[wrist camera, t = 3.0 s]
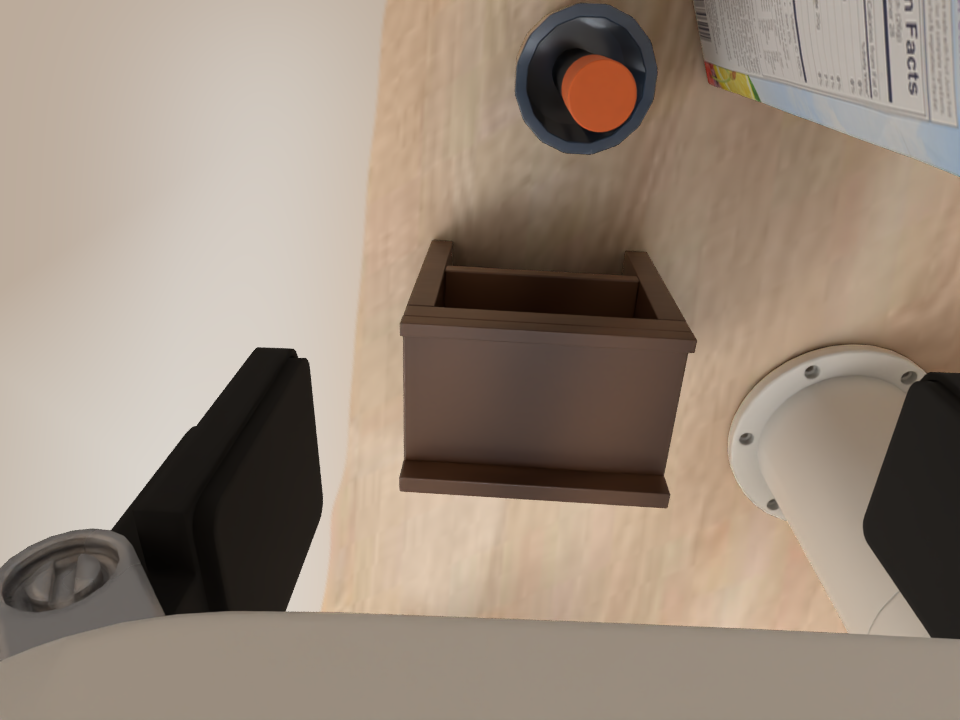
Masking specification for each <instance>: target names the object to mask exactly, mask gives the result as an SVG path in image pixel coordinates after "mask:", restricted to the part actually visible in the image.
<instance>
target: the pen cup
mask: <svg viewBox="0 0 960 720" xmlns="http://www.w3.org/2000/svg"><path fill="white" fill-rule="evenodd" d="M573 48H579V49H583V50H586V51H588V52H591V53H593V54H596V55H601V56H605V57H607V58H610V59H612V60H615V61H617V62H620V63H621V64H623V65H624V66H625V67H626V68H627V69H628V70H629V71H630V72H631V74H632V75H633V77H634V80H635V83H636V87H637V99H636V103H635V106H634V109H633V111H632V113H631V114H630V116H629V117H628V119H627V120H626V121H625V122H624V123H623V124H621V125H620V126H619V127H617V128H615V129H613V130H610V131H606V132H593V131H589V130H587V129H585V128H583V127H582V126H580V125H579V124H578V123H577V122H576V121H575V120H574V118H573V117H572V115H571V113H570V112H569V110H568V108H567V107H566V105H565V103H564V100H563V98H562V96H561V94H560V93H559V91H558V90H557V88H556V86H555V85H554V82H553V78H552V70H553V66H554V63H555V61H556V59H557V58H558V57H559V56H560V55H561V54H562V53H563V52H565V51H566V50H569V49H573ZM657 73H658V71H657V64H656V60H655V56H654V52H653V47H652V43H651V42H650V39H649V38H648V36H647V35H646V34H645V32H644V31H643V30H642V28H641V27H640V26H639V24H638V23H637V22H636V20H635V19H634V18H633V17H631V16H630V15H628V14H626V13H624V12H622V11H620V10H618V9H617V8H615V7H613V6H611V5H608V4H598V3H577V4H573V5H570V6H567V7H565V8H562V9H560V10H557V11H555V12H552V13H550V14H547V15H546V16H544V17H543V18H542V19H541V20H540V21H539V22H538V23H537V24H536V25H535V26H534V27H533V28H532V29H531V30H530V31H529V32H528V34H527V35H526V37H525V39H524V41H523V43H522V45H521V48H520V50H519V52H518V55H517V58H516V71H515V96H516V99H517V102H518V105H519V109H520V112H521V115H522V118H523V120H524V122H525V123H526V124H527V126H528V127H529V128H530V129H531V130H532V132H533V133H534V134H535V135H536V136H537V137H538V139H539V140H540V141H542V142H543V143H545V144H547V145H549V146H551V147H553V148H555V149H557V150H559V151H561V152H563V153H567V154H586V155H590V154H595V153H598V152H601V151H603V150H606V149H609V148H612V147H615V146H617V145H619V144H620V143H621V142H622V141H623V140H624V139H626V138H627V137H628V136H629V135H630V134H631V133H632V132H634V131H635V130H636V129H637V128H638V127H639V126H640V124H641V122H642V121H643V119H644V117H645V115H646V113H647V111H648V110H649V108H650V106H651V104H652V102H653V99H654V94H655V87H656V80H657Z"/></svg>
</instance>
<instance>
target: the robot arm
mask: <svg viewBox="0 0 960 720" xmlns="http://www.w3.org/2000/svg"><path fill="white" fill-rule="evenodd" d="M727 452H728V457H729V463H730V467H731V469H732V472H733V474H734V477H735V479H736V481H737V483H738V484H739V486H740V488H741V489H742V491H743V493H744V494H745V495H746V496H747V497H748V498H749V499H750V500H751V501H752V503H753V504H754V505H756V506H757V507H759V508H760V509H761V510H763V511H764V512H766V513H768V514H770V515H772V516H775V517H777V518H779V519H782V520H784V521H787V522H788V523H789V525H790V527H791V529H792V531H793V533H794V534H795V536H796V538H797V540H798V542H799V544H800V545H801V547H802V549H803V551H804V553H805V555H806V556H807V558H808V560H809V562H810V564H811V566H812V568H813V569H814V571H815V573H816V575H817V577H818V579H819V580H820V582H821V584H822V586H823V588H824V590H825V591H826V593H827V595H828V597H829V599H830V601H831V602H832V604H833V606H834V608H835V610H836V612H837V613H838V615H839V617H840V619H841V621H842V623H843V624H844V626H845V628H846V630H847V632H848V633H827V632H805V631H784V630H763V629H740V628H717V627H694V626H671V625H648V624H626V623H601V622H576V621H551V620H525V619H498V618H472V617H445V616H419V615H393V614H369V613H344V612H285V611H286V609H287V606H288V603H289V601H290V598H291V595H292V593H293V590H294V587H295V585H296V582H297V579H298V577H299V574H300V571H301V569H302V566H303V563H304V560H305V558H306V555H307V553H308V550H309V547H310V545H311V542H312V539H313V537H314V534H315V531H316V528H317V526H318V523H319V521H320V517H321V513H322V506H323V494H322V484H321V474H320V465H319V455H318V444H317V434H316V425H315V415H314V405H313V395H312V385H311V375H310V366H309V362H308V360H307V359H306V358H298V356H297V353H296V351H295V350H294V349H286V348H259V347H258V348H256V349H255V350H254V351H253V352H252V354H251V355H250V356H249V358H248V359H247V360H246V361H245V363H244V364H243V366H242V367H241V368H240V369H239V371H238V372H237V373H236V375H235V376H234V377H233V378H232V380H231V381H230V382H229V384H228V385H227V386H226V388H225V389H224V390H223V392H222V393H221V394H220V396H219V397H218V398H217V400H216V401H215V402H214V403H213V405H212V406H211V407H210V409H209V410H208V411H207V413H206V414H205V416H204V417H203V418H202V419H201V420H200V422H199V423H198V424H197V426H194V427H192V428H191V429H190V430H189V431H188V432H187V433H186V434H185V435H184V437H183V438H182V439H181V440H180V442H179V443H178V444H177V446H176V447H175V449H174V450H173V451H172V452H171V453H170V455H169V456H168V457H167V459H166V460H165V461H164V463H163V464H162V465H161V467H160V468H159V469H158V470H157V472H156V473H155V474H154V476H153V477H152V478H151V479H150V481H149V482H148V483H147V484H146V486H145V487H144V488H143V490H142V491H141V492H140V493H139V495H138V496H137V498H136V499H135V500H134V501H133V503H132V504H131V505H130V506H129V508H128V509H127V510H126V512H125V513H124V514H123V516H122V517H121V518H120V520H119V521H118V522H117V523H116V525H115V526H114V527H113V528H112V530H102V529H85V530H75V531H70V532H66V533H63V534H59V535H55V536H51V537H49V538H47V539H44V540H42V541H40V542H38V543H35V544H33V545H31V546H29V547H27V548H26V549H24V550H23V551H21V552H20V553H18V554H16V555H15V556H13V557H12V558H10V559H9V560H8V561H7V562H6V563H5V564H4V565H3V566H2V567H1V568H0V720H960V373H940V372H930V373H928V374H927V373H926V372H925V371H924V370H923V369H921V368H920V367H919V366H918V365H916V364H915V363H914V362H912V361H911V360H910V359H908V358H907V357H905V356H902V355H900V354H898V353H896V352H894V351H892V350H888V349H884V348H880V347H876V346H872V345H856V344H848V345H839V346H830V347H826V348H822V349H818V350H815V351H811V352H807V353H805V354H803V355H801V356H798V357H796V358H794V359H792V360H789V361H787V362H786V363H784V364H783V365H781V366H780V367H778V368H776V369H775V370H773V371H772V372H770V373H769V374H768V375H767V376H766V377H764V378H763V379H762V380H761V381H760V382H759V383H758V384H757V385H755V386H754V387H753V389H752V390H751V391H750V392H749V394H748V395H747V396H746V397H745V399H744V400H743V401H742V403H741V405H740V406H739V408H738V410H737V412H736V414H735V416H734V418H733V421H732V424H731V428H730V431H729V434H728V448H727Z"/></svg>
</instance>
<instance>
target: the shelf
mask: <svg viewBox="0 0 960 720" xmlns="http://www.w3.org/2000/svg"><path fill="white" fill-rule="evenodd" d="M452 259H453V242H452V241H437V240H432V242H431V244H430V247H429V249H428V252H427V255H426V257H425V260H424V262H423V265H422V268H421V270H420V273H419V276H418V278H417V281H416V283H415V286H414V289H413V291H412V294H411V296H410V299H409V302H408V304H407V307H406V310H405V312H404V315H403V317H402V319H401V322H400V336H403V386H404V461H403V465H402V469H401V473H400V477H399V488H400V491H403V492H419V493H434V494H450V495H466V496H481V497H497V498H513V499H528V500H544V501H560V502H575V503H591V504H607V505H623V506H638V507H654V508H667V507H668V503H669V498H670V493H669V490H668V487H667V483H666V480H665V477H664V473H665V467H666V462H667V457H668V452H669V447H670V442H671V437H672V432H673V427H674V422H675V417H676V412H677V407H678V402H679V397H680V392H681V387H682V382H683V377H684V371H685V366H686V361H687V356H688V353H694V352H695V348H696V343H697V339H696V338H695V336H694V334H693V333H692V331H691V330H690V328H689V326H688V324H687V323H686V320H685V319H684V317H683V315H682V313H681V312H680V310H679V308H678V306H677V305H676V303H675V301H674V299H673V298H672V296H671V294H670V292H669V291H668V289H667V287H666V285H665V284H664V282H663V280H662V278H661V277H660V275H659V273H658V271H657V270H656V268H655V266H654V264H653V263H652V261H651V259H650V257H649V255H648V254H647V252H636V251H626V252H625V258H624V265H623V272H622V275H607V274H589V273H571V272H553V271H535V270H518V269H500V268H482V267H464V266H452Z"/></svg>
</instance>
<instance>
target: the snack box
mask: <svg viewBox="0 0 960 720" xmlns="http://www.w3.org/2000/svg"><path fill="white" fill-rule="evenodd" d="M693 4H694V9H695V14H696V20H697V25H698V30H699V35H700V41H701V46H702V52H703V58H704V63H705V68H706V73H707V78H708V83H709V84H711V85H713V86H716V87H719V88H722V89H724V90H727V91H730V92H733V93H737V94H739V95H742V96H744V97H747V98H750V99H753V100H755V101H758V102H762V103H764V104H767V105H769V106H772V107H774V108H777V109H780V110H782V111H785V112H787V113H790V114H793V115H795V116H798V117H801V118H804V119H807V120H810V121H812V122H815V123H818V124H820V125H823V126H826V127H828V128H831V129H834V130H836V131H839V132H842V133H844V134H847V135H850V136H852V137H855V138H858V139H860V140H863V141H866V142H869V143H871V144H874V145H877V146H880V147H882V148H885V149H888V150H891V151H893V152H896V153H899V154H902V155H905V156H908V157H911V158H914V159H916V160H919V161H921V162H923V163H926V164H928V165H931V166H933V167H936V168H939V169H941V170H944V171H946V172H949V173H951V174H953V175H956V176H958V177H960V0H693Z"/></svg>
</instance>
